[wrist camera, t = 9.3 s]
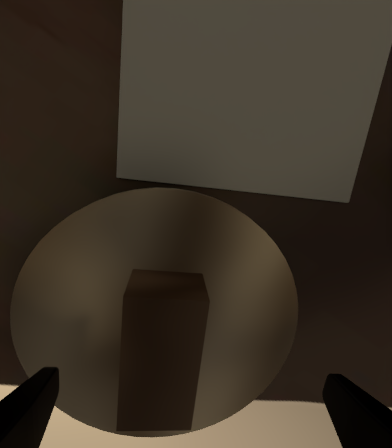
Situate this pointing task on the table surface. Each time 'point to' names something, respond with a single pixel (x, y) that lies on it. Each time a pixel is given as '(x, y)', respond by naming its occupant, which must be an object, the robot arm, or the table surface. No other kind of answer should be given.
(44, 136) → the table surface
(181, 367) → the lid
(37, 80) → the table surface
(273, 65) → the mat
